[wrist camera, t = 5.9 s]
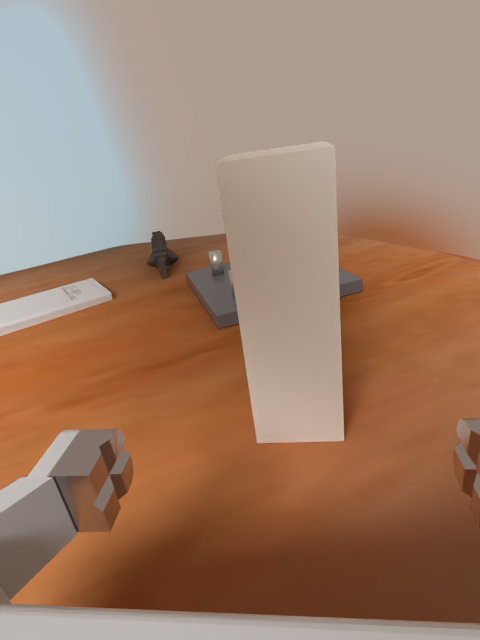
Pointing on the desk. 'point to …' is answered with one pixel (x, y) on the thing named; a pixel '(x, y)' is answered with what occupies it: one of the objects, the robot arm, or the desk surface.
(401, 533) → the desk surface
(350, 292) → the plate
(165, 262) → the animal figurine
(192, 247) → the desk surface
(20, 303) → the external hard drive
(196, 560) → the desk surface
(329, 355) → the cream column
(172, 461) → the desk surface
